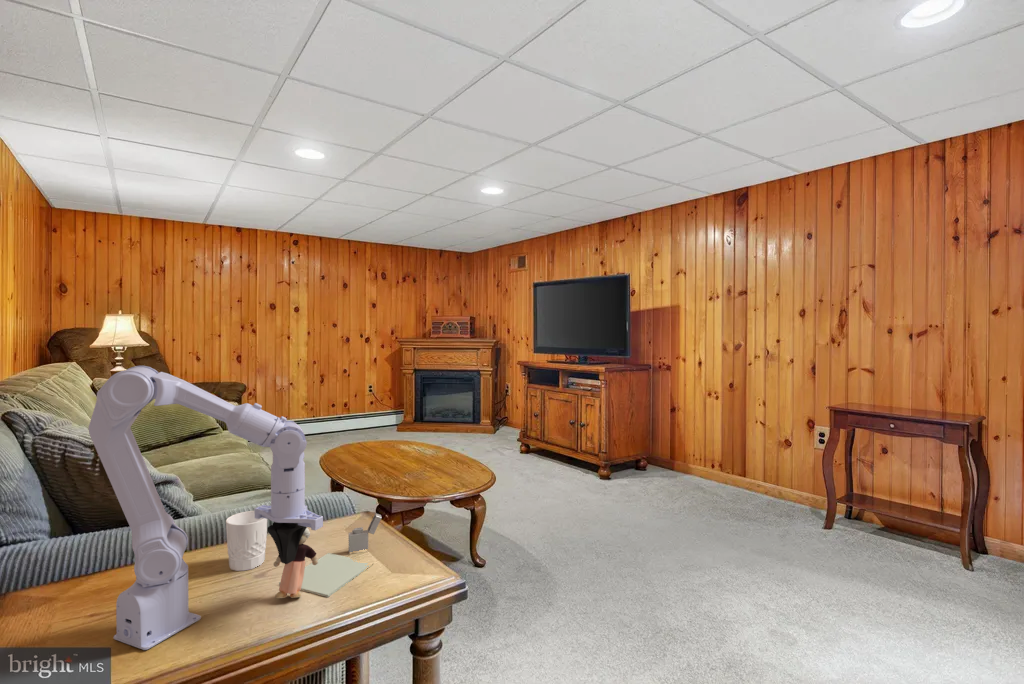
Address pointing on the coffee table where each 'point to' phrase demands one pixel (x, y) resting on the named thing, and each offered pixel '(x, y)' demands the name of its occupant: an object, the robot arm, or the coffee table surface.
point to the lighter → (362, 535)
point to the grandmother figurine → (295, 569)
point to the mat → (330, 574)
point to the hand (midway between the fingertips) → (288, 561)
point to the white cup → (246, 540)
